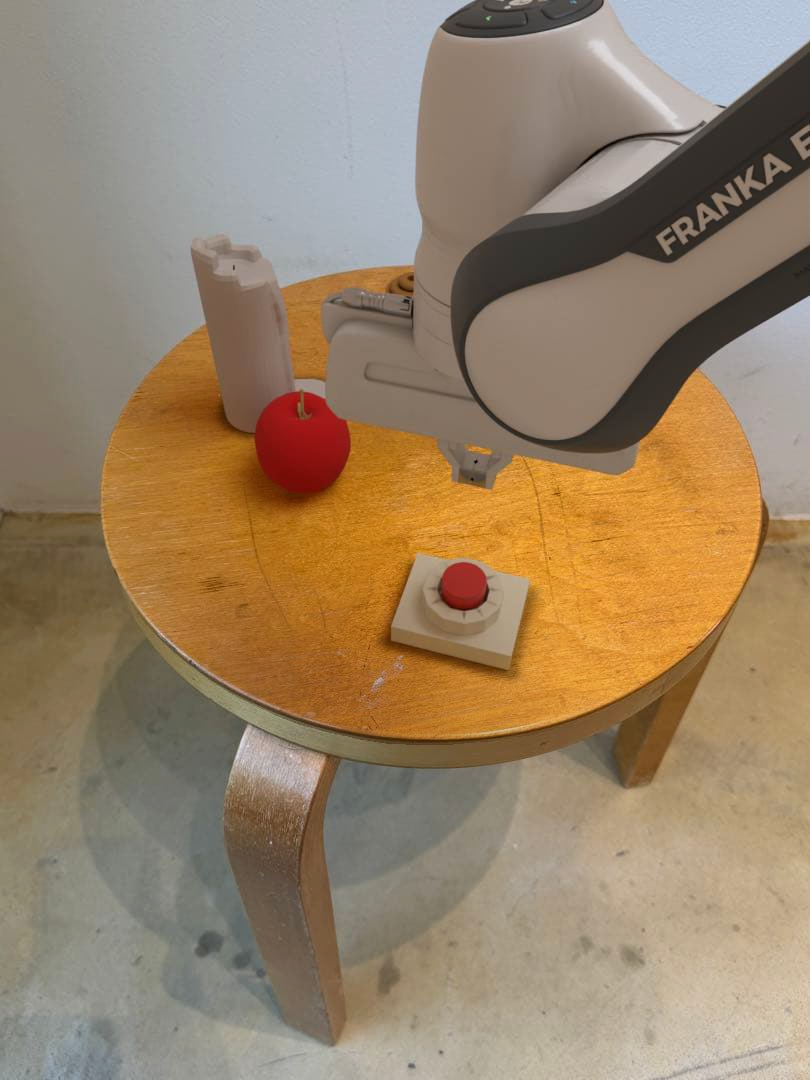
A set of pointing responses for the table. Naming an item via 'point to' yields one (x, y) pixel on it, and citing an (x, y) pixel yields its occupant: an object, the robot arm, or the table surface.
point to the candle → (246, 328)
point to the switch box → (460, 614)
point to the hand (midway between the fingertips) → (474, 479)
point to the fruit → (301, 442)
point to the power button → (463, 585)
